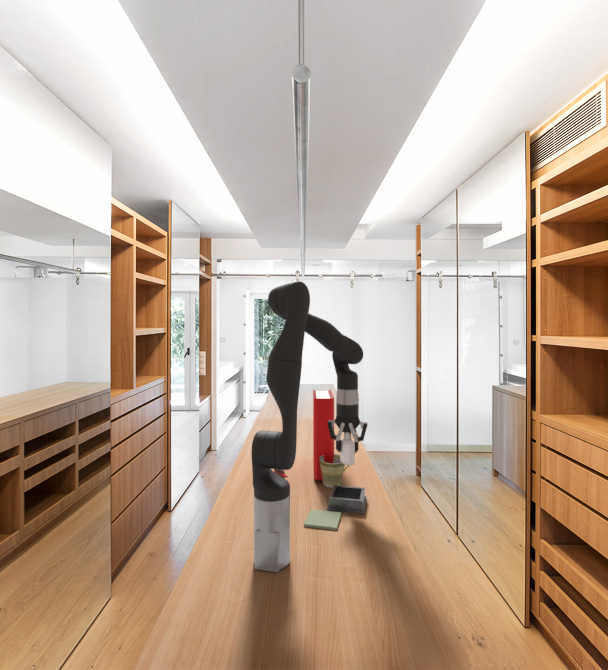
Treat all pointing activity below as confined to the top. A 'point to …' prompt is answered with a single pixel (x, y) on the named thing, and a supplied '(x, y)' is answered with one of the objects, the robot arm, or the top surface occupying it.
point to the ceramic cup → (332, 471)
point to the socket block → (347, 499)
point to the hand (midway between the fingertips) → (347, 451)
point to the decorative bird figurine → (280, 473)
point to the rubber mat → (323, 519)
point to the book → (322, 429)
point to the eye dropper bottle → (347, 450)
